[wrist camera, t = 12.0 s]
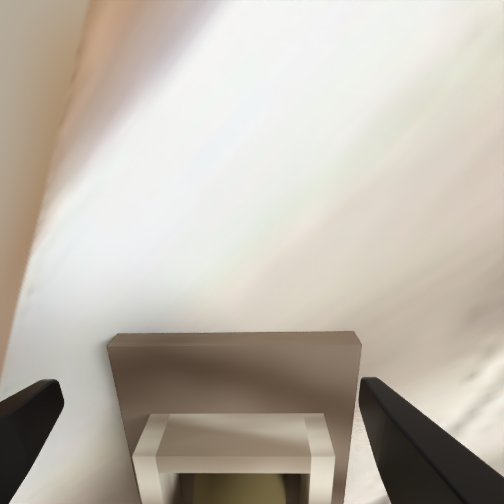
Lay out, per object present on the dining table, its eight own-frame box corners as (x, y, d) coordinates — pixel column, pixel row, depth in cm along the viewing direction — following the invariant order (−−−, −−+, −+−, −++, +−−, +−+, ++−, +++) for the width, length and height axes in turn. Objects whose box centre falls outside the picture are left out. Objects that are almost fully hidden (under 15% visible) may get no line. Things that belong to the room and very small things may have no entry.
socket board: (331, 546, 21) (346, 621, 18) (159, 545, 22) (140, 618, 18) (354, 331, 16) (382, 379, 12) (117, 334, 16) (77, 380, 12)
